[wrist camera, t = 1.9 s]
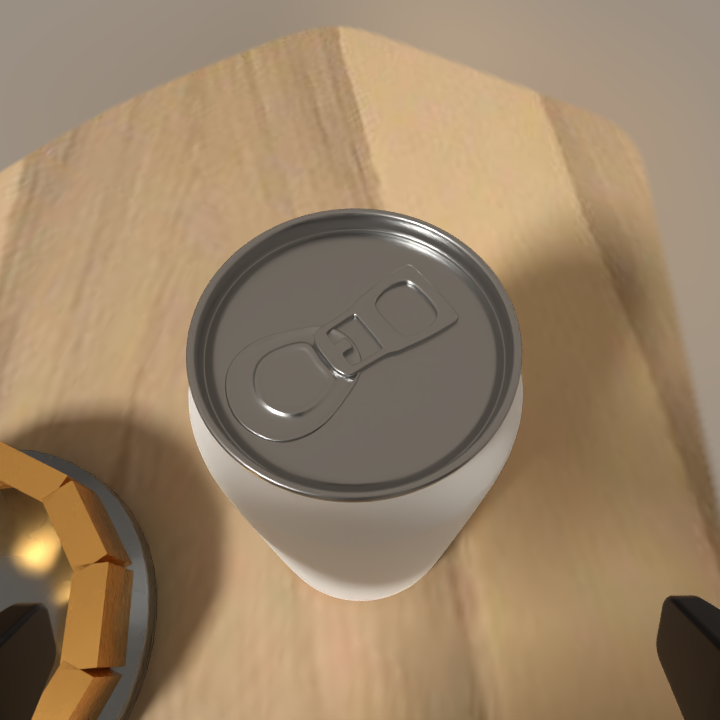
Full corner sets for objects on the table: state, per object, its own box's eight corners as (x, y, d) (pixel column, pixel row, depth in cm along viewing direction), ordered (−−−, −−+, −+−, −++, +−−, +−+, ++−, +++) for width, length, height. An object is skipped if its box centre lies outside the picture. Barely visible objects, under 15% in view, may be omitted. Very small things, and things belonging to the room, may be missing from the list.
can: (236, 484, 20) (95, 297, 10) (380, 390, 22) (392, 143, 11) (336, 647, 18) (292, 633, 7) (489, 526, 20) (634, 373, 9)
